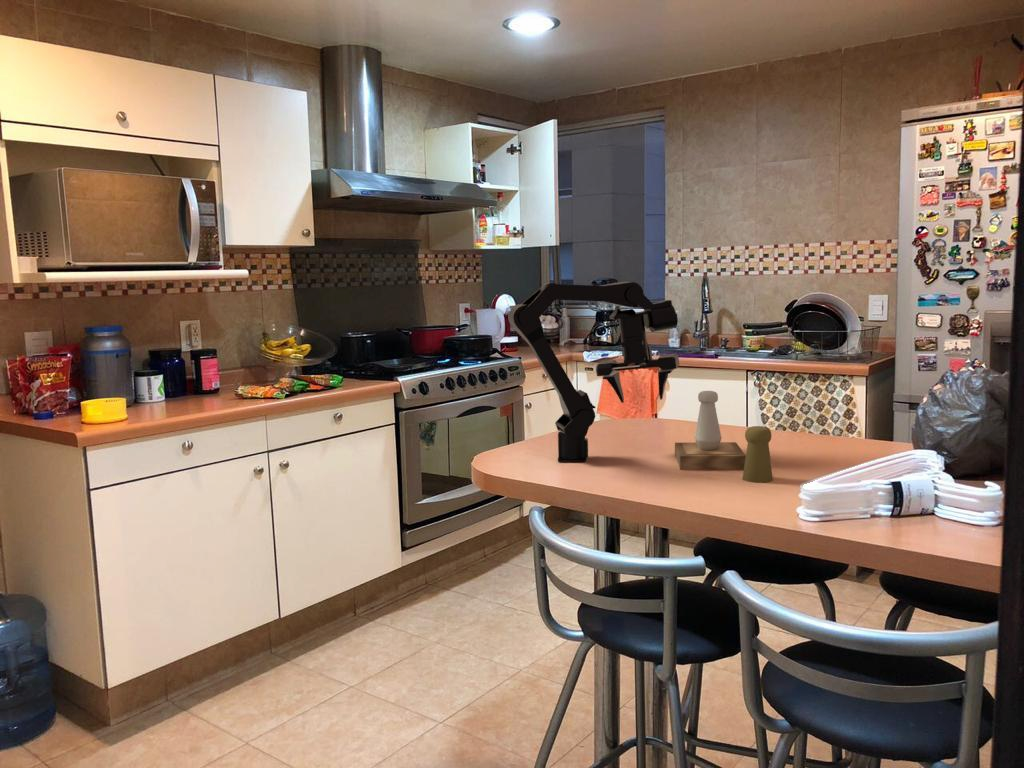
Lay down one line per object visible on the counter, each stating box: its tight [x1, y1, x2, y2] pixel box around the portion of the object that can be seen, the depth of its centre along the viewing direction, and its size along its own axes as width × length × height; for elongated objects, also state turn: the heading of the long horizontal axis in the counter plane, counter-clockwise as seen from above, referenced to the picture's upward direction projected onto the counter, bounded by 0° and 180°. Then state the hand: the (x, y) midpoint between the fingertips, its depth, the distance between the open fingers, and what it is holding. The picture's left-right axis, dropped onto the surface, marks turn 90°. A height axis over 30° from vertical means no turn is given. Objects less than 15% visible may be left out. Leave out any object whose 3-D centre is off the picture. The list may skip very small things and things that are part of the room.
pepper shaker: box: [742, 425, 774, 484], centre depth 167 cm, size 6×6×11 cm
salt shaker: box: [694, 390, 722, 450], centre depth 182 cm, size 6×6×13 cm
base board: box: [674, 441, 746, 471], centre depth 184 cm, size 14×14×3 cm
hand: (642, 400), depth 192 cm, fingers open, 9 cm apart
